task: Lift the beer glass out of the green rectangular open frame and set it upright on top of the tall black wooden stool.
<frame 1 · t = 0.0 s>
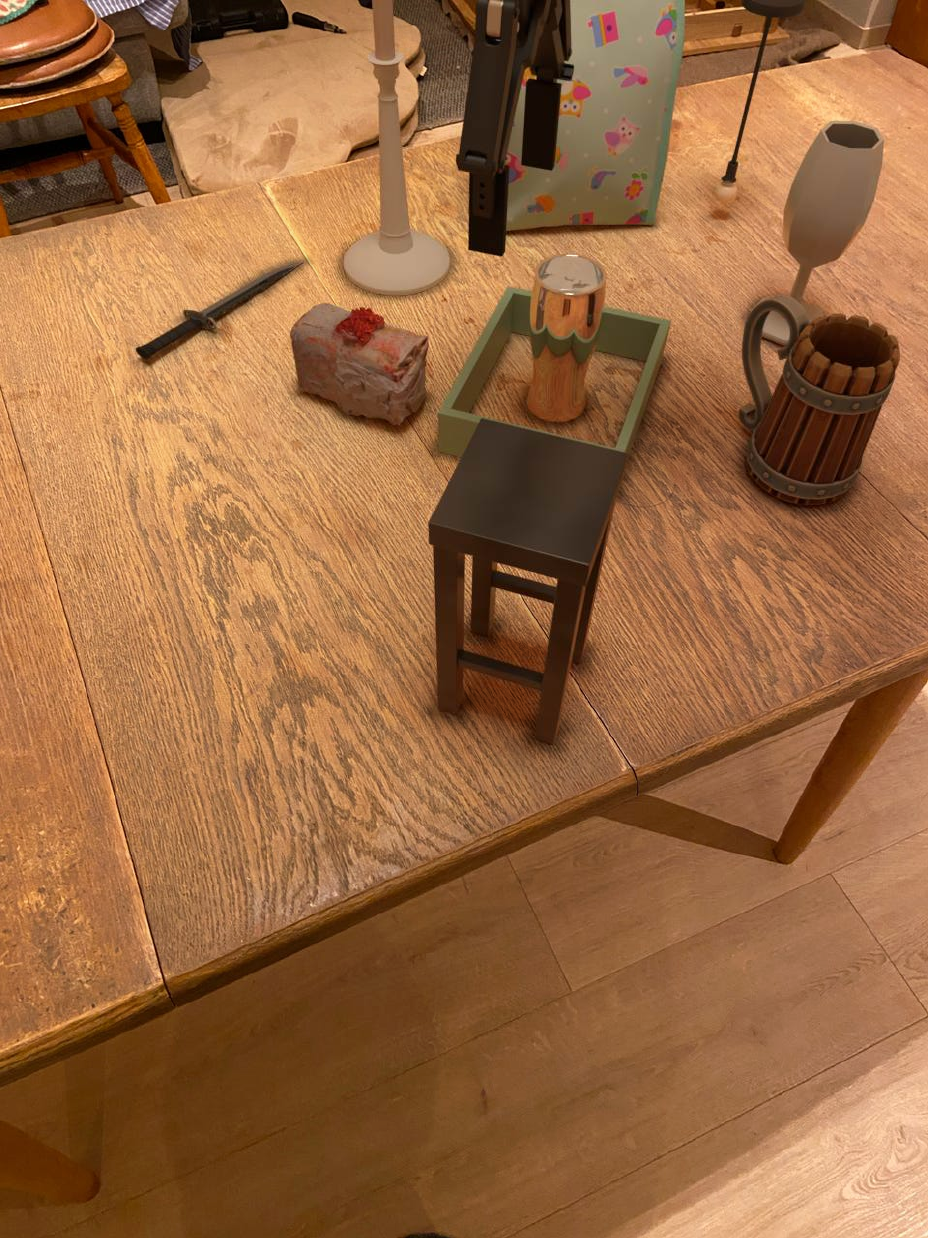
hand: (513, 206, 72), 24 cm above the table, tool pointing down, fingers open, 13 cm apart
mug: (777, 456, 89), on the table
lunch bag: (561, 206, 117), on the table
candlestick: (397, 265, 109), on the table
stool: (513, 678, 73), on the table
food item: (365, 399, 94), on the table
knife: (227, 310, 103), on the table
beer glass: (555, 404, 94), resting in green rectangular open frame
green rectangular open frame: (555, 403, 93), on the table
light fixture: (719, 219, 115), on the table
wineglass: (785, 326, 102), on the table
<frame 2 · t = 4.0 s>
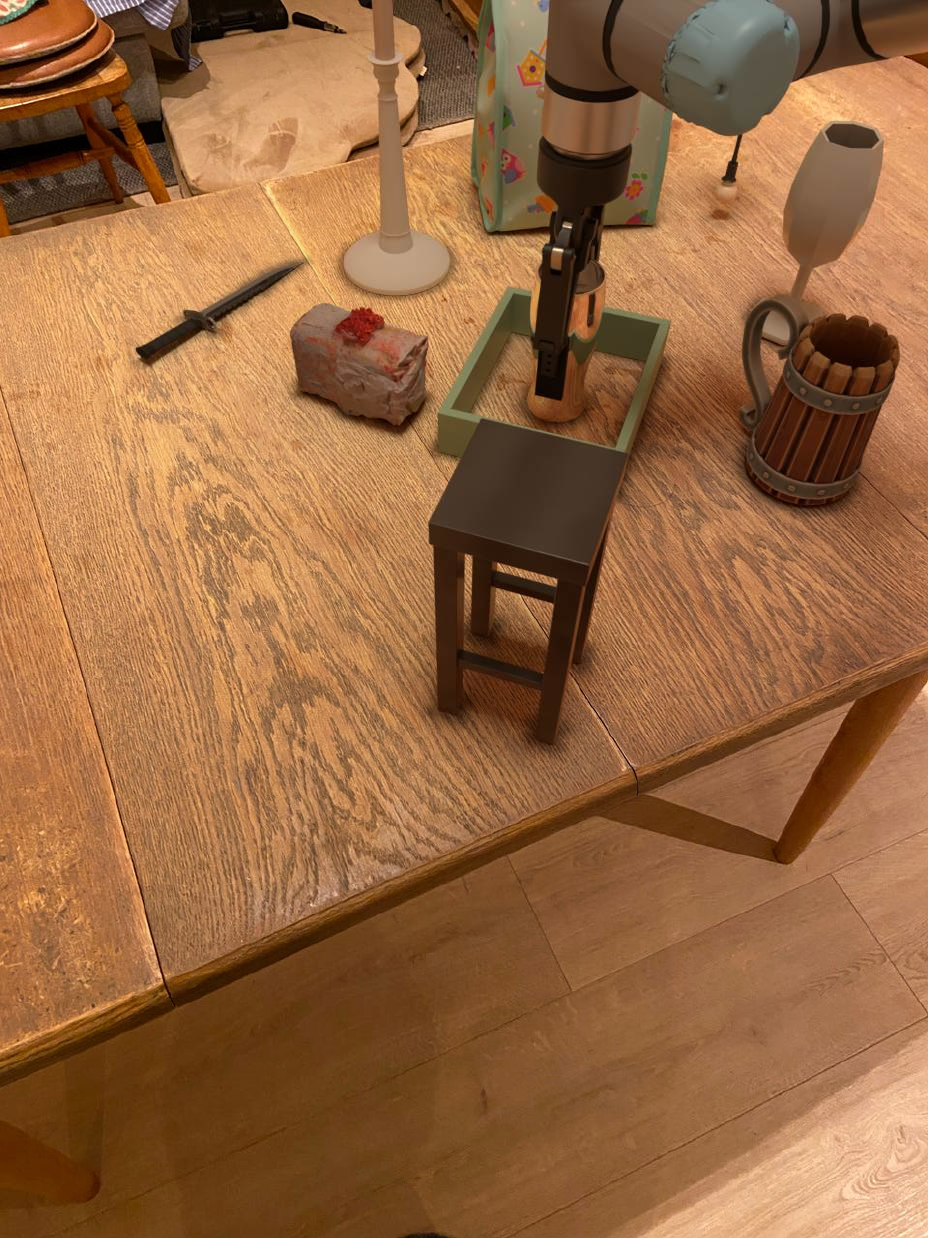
hand: (559, 371, 90), 4 cm above the table, tool pointing down, fingers closed on beer glass, 7 cm apart
beer glass: (555, 404, 94), resting in green rectangular open frame, touching gripper
everything else where it was.
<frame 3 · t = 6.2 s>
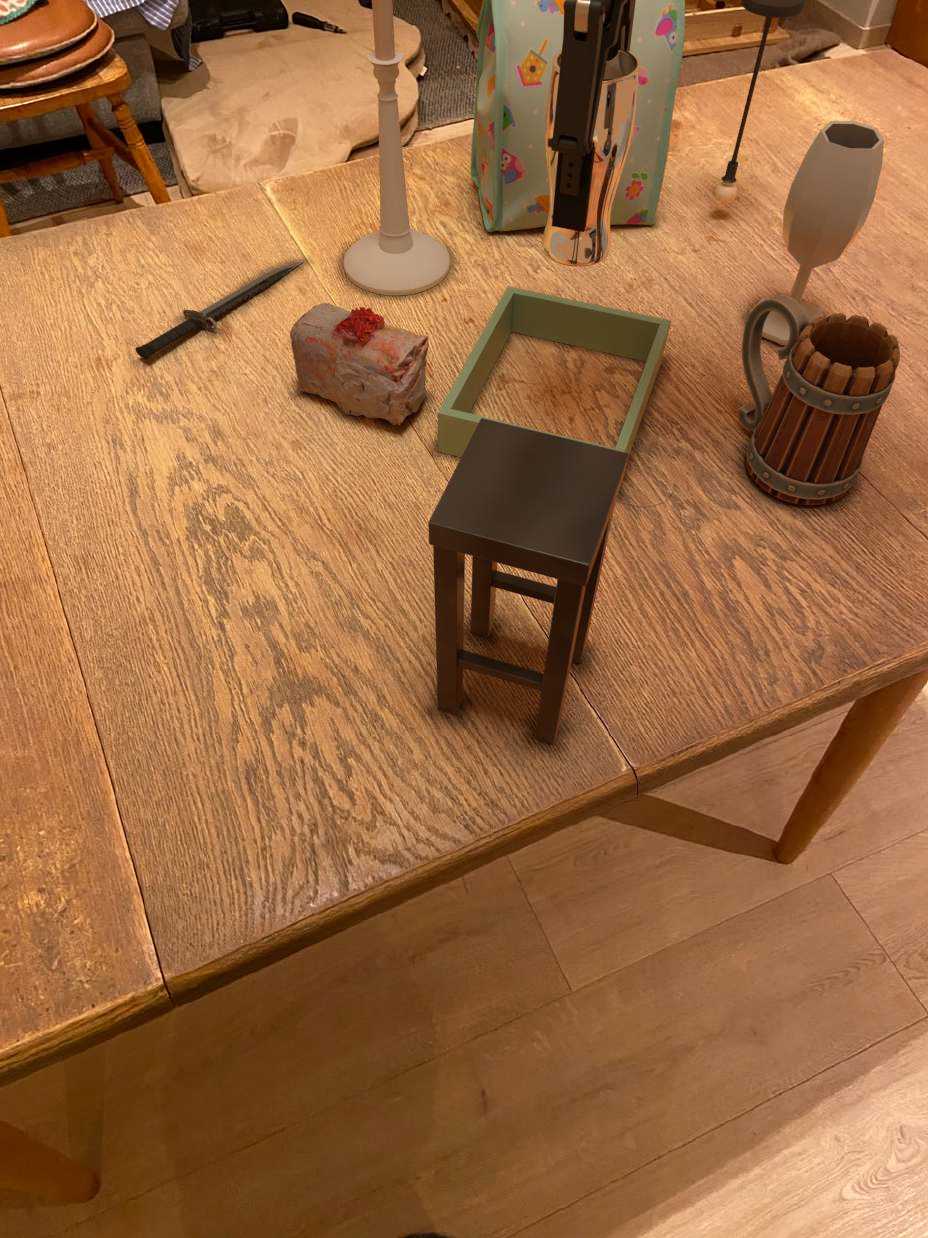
hand: (580, 203, 76), 22 cm above the table, tool pointing down, fingers closed on beer glass, 7 cm apart
beer glass: (575, 249, 79), point 17 cm above the table, touching gripper
everything else where it was.
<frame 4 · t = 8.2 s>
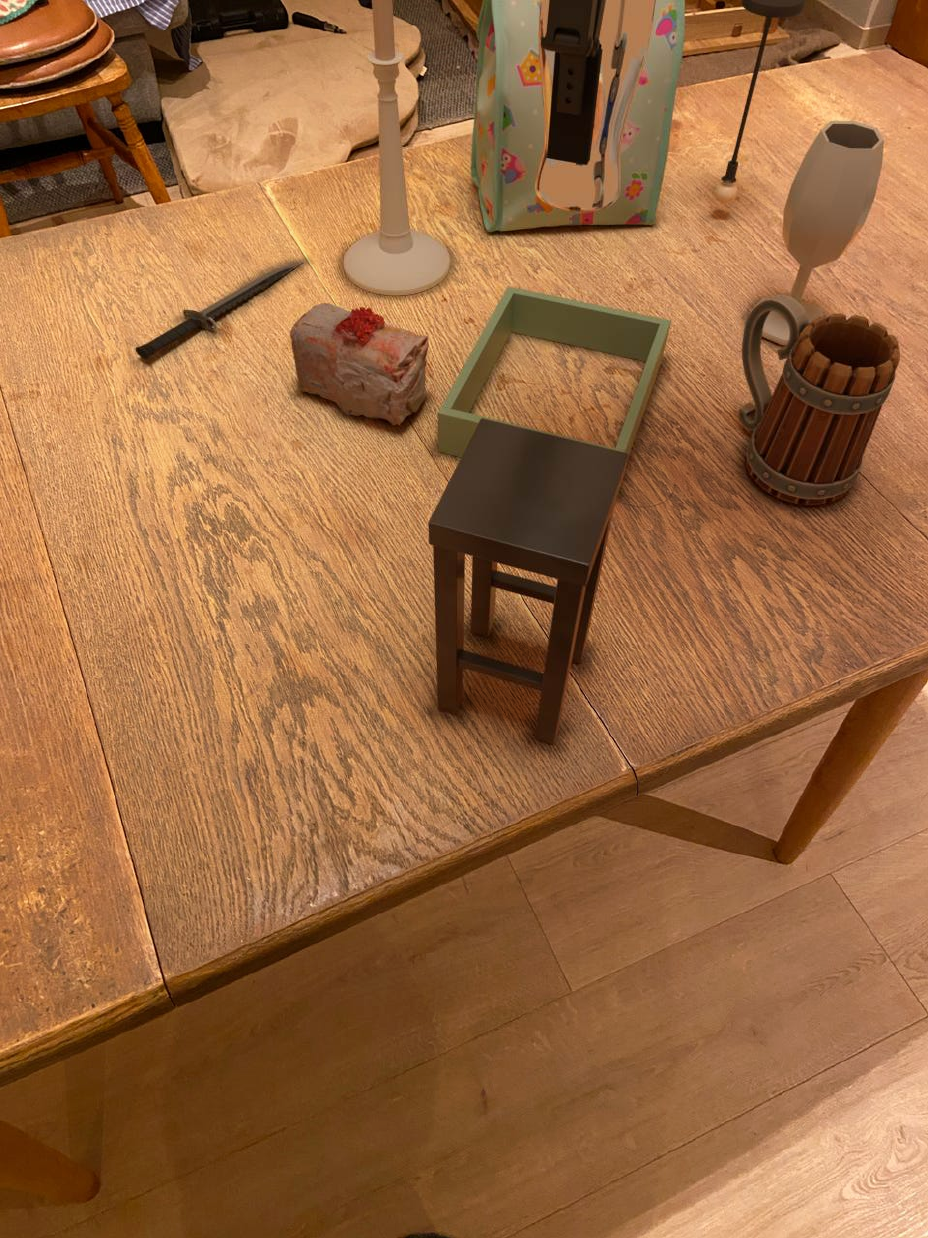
hand: (584, 131, 61), 33 cm above the table, tool pointing down, fingers closed on beer glass, 7 cm apart
beer glass: (577, 193, 64), point 28 cm above the table, touching gripper
everything else where it was.
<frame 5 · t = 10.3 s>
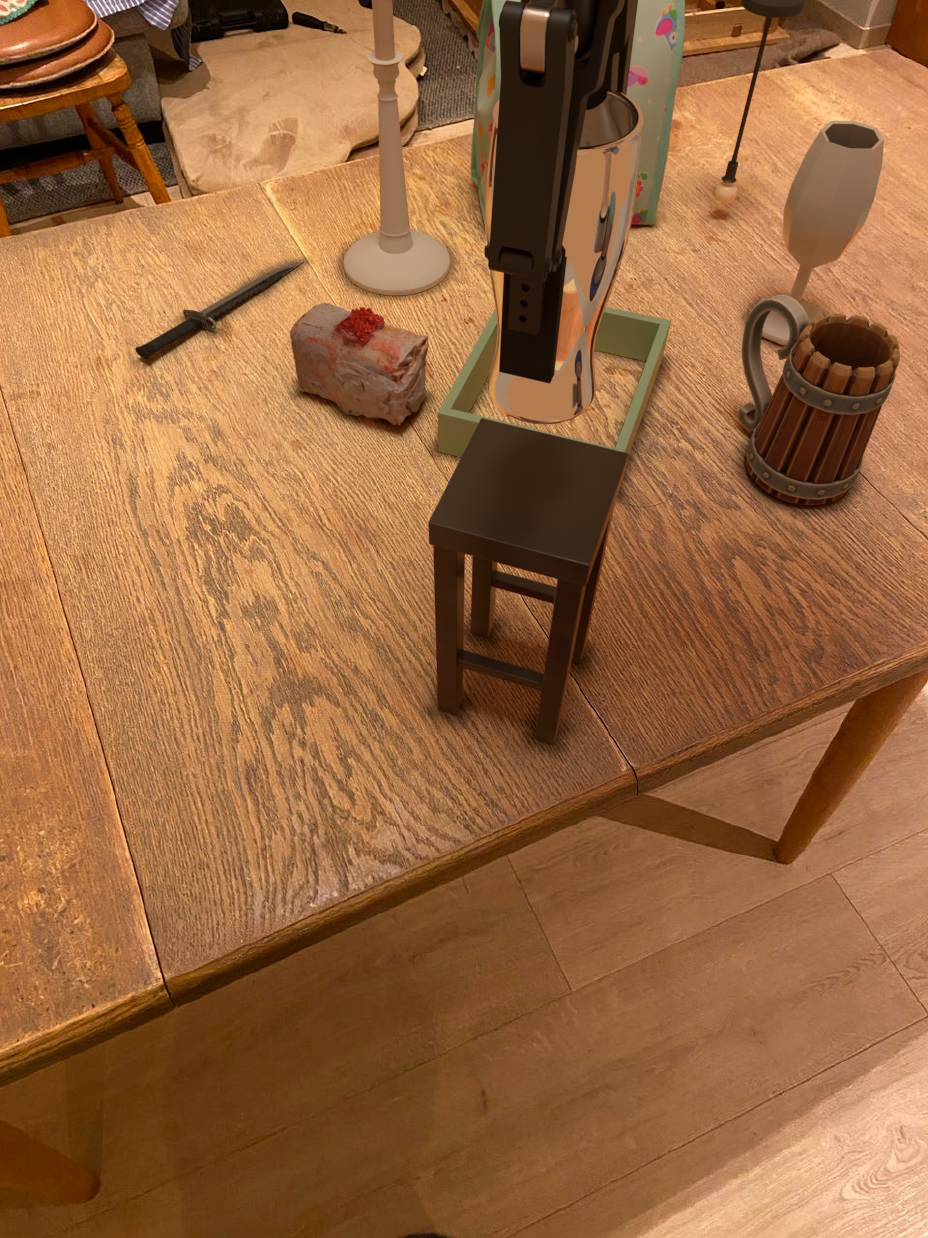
hand: (548, 329, 48), 33 cm above the table, tool pointing down, fingers closed on beer glass, 7 cm apart
beer glass: (540, 392, 51), point 28 cm above the table, touching gripper
everything else where it was.
when the fingers open (26 cm above the table, at t = 12.5 s): beer glass stays where it is, resting on stool.
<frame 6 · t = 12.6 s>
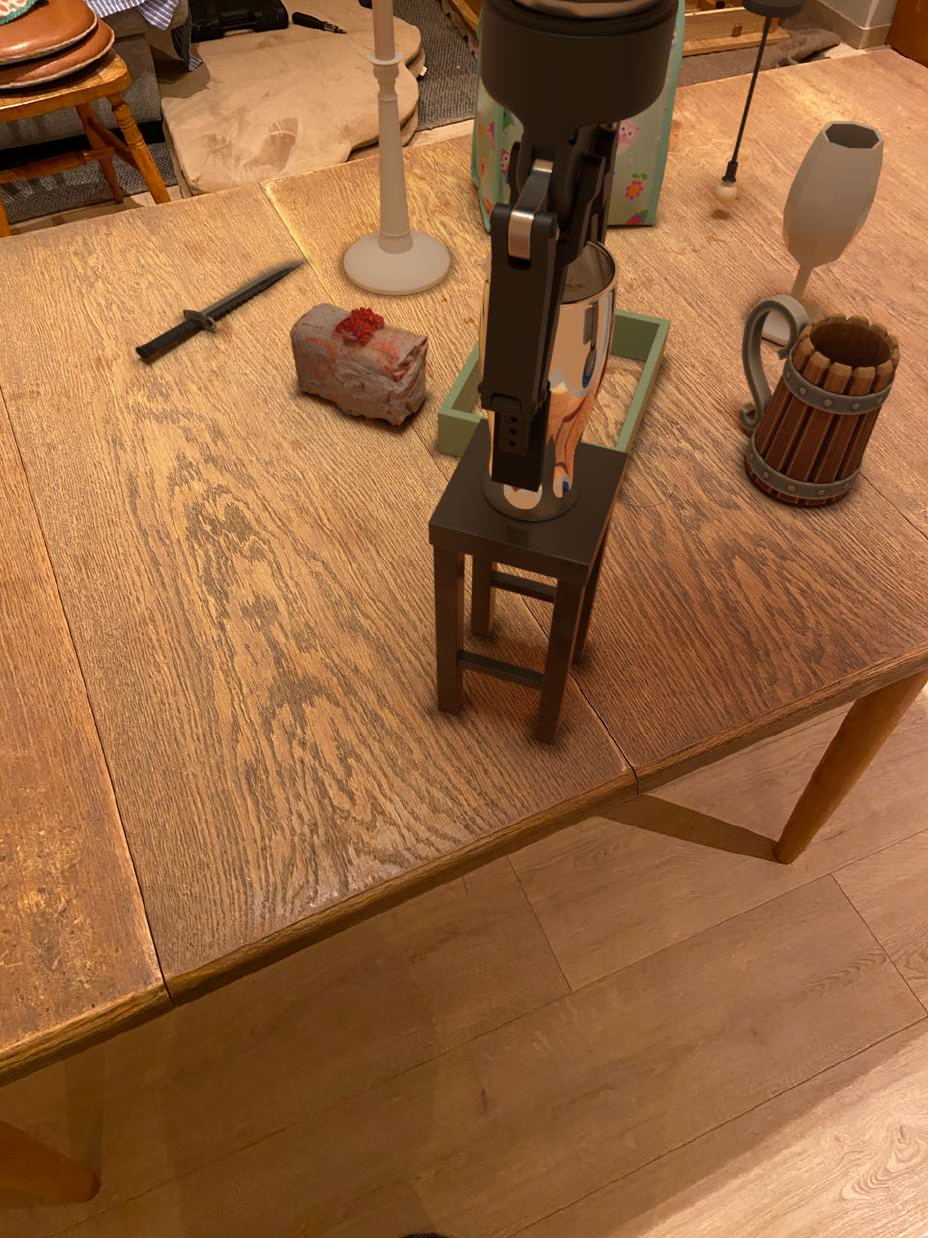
hand: (535, 437, 52), 26 cm above the table, tool pointing down, fingers open, 7 cm apart
beer glass: (530, 488, 56), point 22 cm above the table, touching stool
everything else where it was.
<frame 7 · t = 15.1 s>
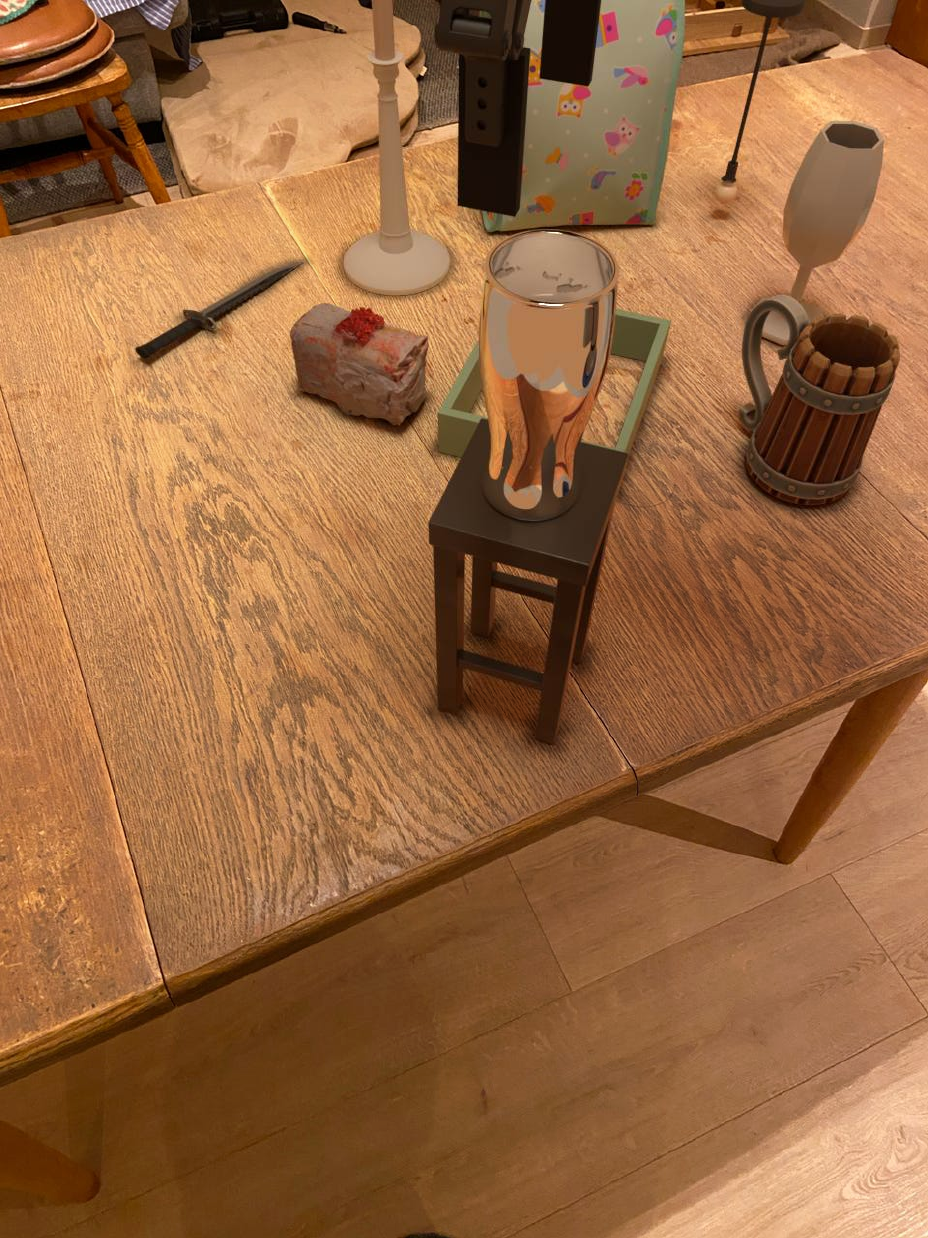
hand: (530, 138, 44), 40 cm above the table, tool pointing down, fingers open, 13 cm apart
nothing on the table moved.
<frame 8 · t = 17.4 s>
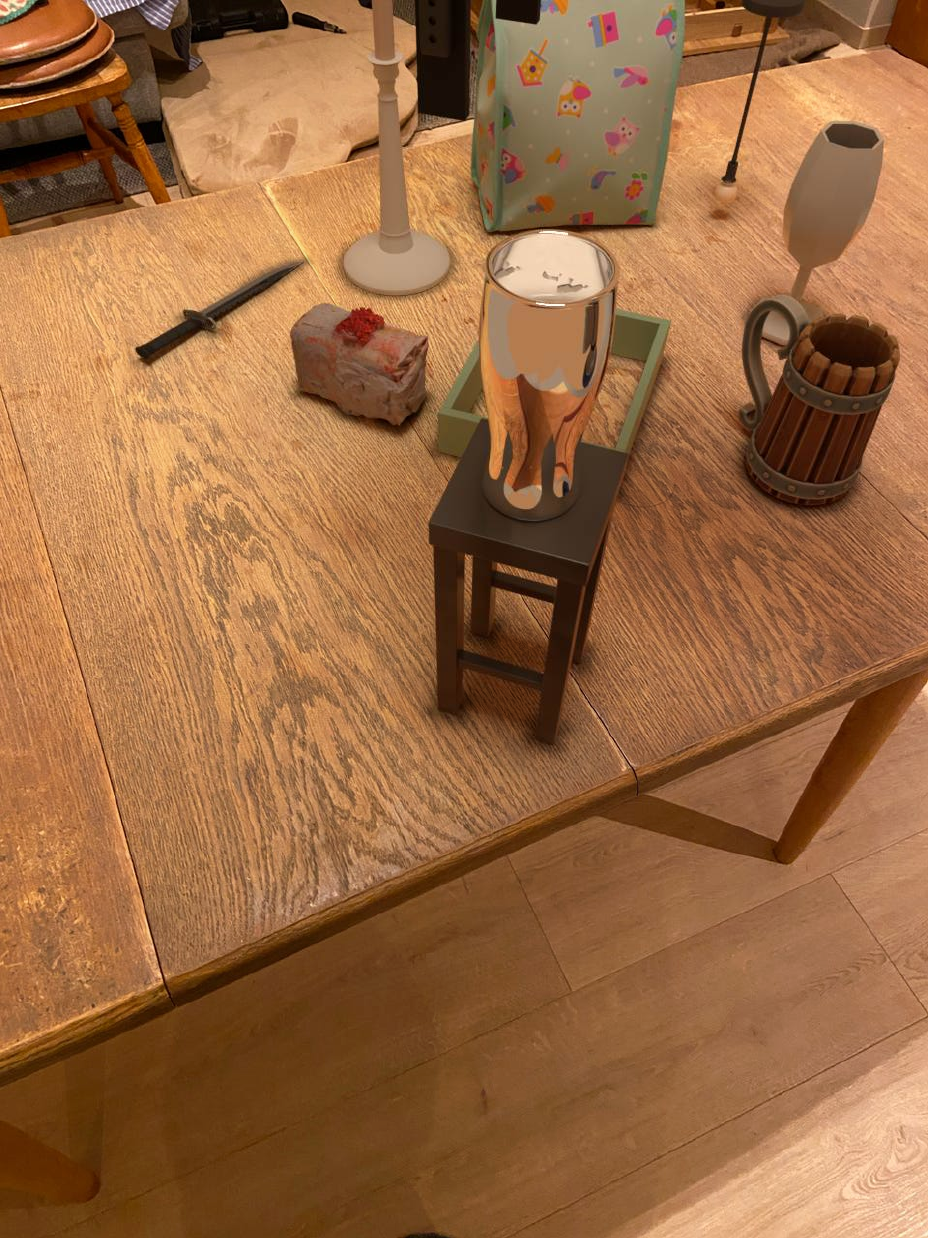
hand: (483, 64, 53), 39 cm above the table, tool pointing down, fingers open, 13 cm apart
nothing on the table moved.
at the end: beer glass 0.1 cm off-centre on the stool, point 21.8 cm above the stool's base; beer glass tilted 0° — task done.
